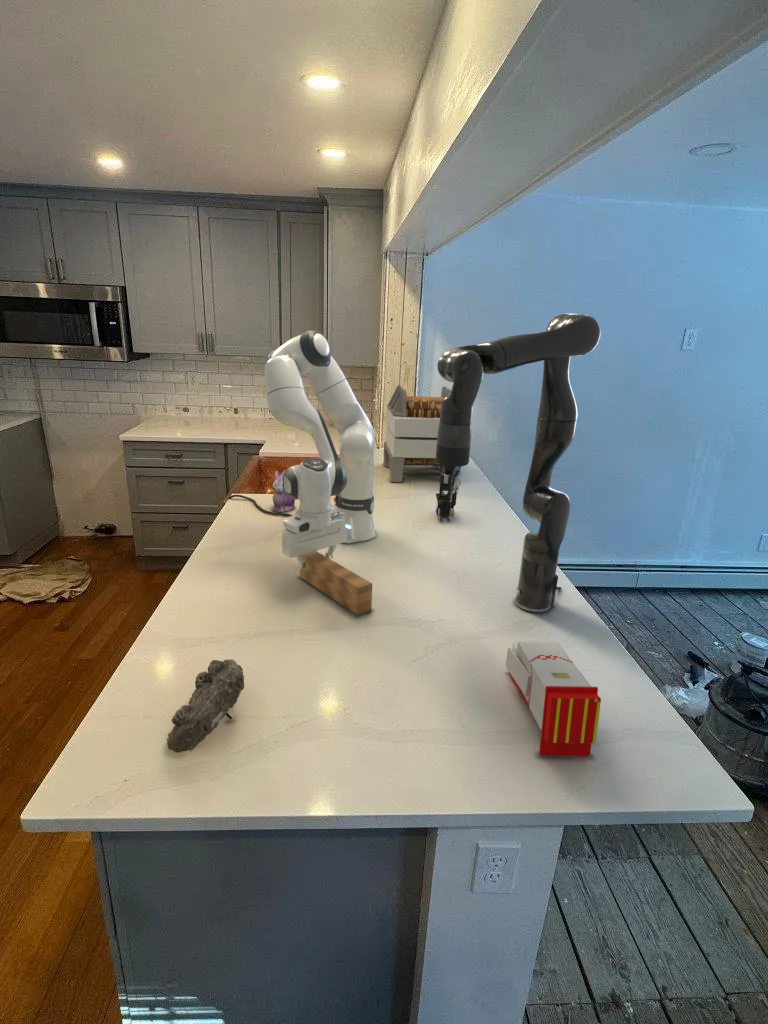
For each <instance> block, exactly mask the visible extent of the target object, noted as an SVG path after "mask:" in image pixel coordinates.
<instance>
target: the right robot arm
mask: <svg viewBox="0 0 768 1024" xmlns="http://www.w3.org/2000/svg"><path fill="white" fill-rule="evenodd" d="M546 327H547V328H546V330H544V331H539V332H530V333H522V334H515V335H509V336H504V337H500V338H496V339H493V340H490V341H487V342H483V343H478V344H477V343H476V344H468V345H460V346H457V347H456V346H455V347H452V348H449V349H447V350H446V351H444V352H443V353H442V354H441V355H440V356H439V359H438V360H437V365H436V367H437V372H438V374H439V376H440V377H441V378H442V379H443V380H445V381H447V382H450V383H452V384H453V385H452V388H451V394H448V395H445V396H444V397H443V399H442V401H441V411H440V422H439V428H438V434H437V447H436V462H437V463H438V464H440V465H444V466H445V469H444V470H443V472H440V477H439V478H440V480H439V489H438V491H439V492H438V493H439V497H438V499H439V501H441V505H440V516H441V517H445V519H447V518H448V517H449V516H450V508H451V506H454V507H455V506H456V504H457V496H458V490H459V487H460V484H461V475H462V468H463V467H465V466H468V465H469V464H470V457H471V454H470V453H471V445H472V435H473V433H472V431H473V430H472V423H473V413H474V404H475V401H476V399H477V396H478V393H479V390H480V388H481V384H482V381H483V377H484V375H496V374H499V373H503V372H506V371H510V370H514V369H516V368H520V367H523V366H526V365H530V364H534V363H538V362H543V373H542V383H541V390H540V391H541V392H540V401H539V408H538V414H537V419H536V426H535V427H536V428H535V437H534V443H533V451H532V456H531V463H530V467H529V472H528V476H527V481H526V484H525V489H524V493H523V498H522V510H523V514H525V516H527V517H528V518H530V519H532V520H534V521H535V522H538V523H540V525H539V528H538V530H534V531H530V532H527V533H526V534H525V535H524V539H523V547H522V553H521V562H520V569H519V574H518V582H517V586H516V587H515V591H516V597H515V601H514V603H515V604H516V606H517V607H518V608H519V609H521V610H523V611H527V612H529V613H546V612H548V611H550V609H552V608H554V605H555V599H556V593H557V591H560V590H562V586H558V580H559V575H558V574H557V568H558V561H559V554H560V550H561V549H560V548H561V544H562V543H563V541H564V538H565V535H566V531H567V526H568V522H569V519H570V513H571V500H570V497H569V496H568V494H566V493H565V492H562V491H559V490H557V489H554V488H552V487H551V481H552V475H553V471H554V468H555V466H556V465H557V462H558V461H559V460H560V458H561V457H563V455H564V454H565V453H566V451H567V450H568V449H569V447H570V446H571V444H572V443H573V440H574V438H575V433H576V427H577V420H578V406H577V402H576V399H575V395H574V392H573V389H572V386H571V382H570V363H571V357H581V356H585V355H587V354H589V353H591V352H592V351H594V350H595V348H596V347H597V346H598V344H599V342H600V338H601V327H600V323H599V322H598V320H597V319H596V318H594V317H593V316H591V315H588V314H584V313H583V314H582V313H559V314H556V315H555V316H553V317H552V318H551V320H550V321H549V322H548V325H547V326H546ZM445 493H446V494H447V496H443V495H444V494H445ZM449 518H450V517H449Z"/></svg>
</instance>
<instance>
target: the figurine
mask: <svg viewBox="0 0 768 1024" xmlns="http://www.w3.org/2000/svg"><path fill="white" fill-rule="evenodd" d="M286 470H287V469H284V470H283V471H282V472H281V474H280V472H279V471H278V470H275V471H274V481H273V484H272V490H273V491H274V492H273V495H272V503H273V511H274V512H277V513H284V512H289V511H291V510H293V509H294V508H295V504H296V500H295V499H293V498H291V497H290V496H288V495H287V494H286V493H285V492H284V489H283V474H284V473H285V471H286Z"/></svg>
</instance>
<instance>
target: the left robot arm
mask: <svg viewBox="0 0 768 1024" xmlns="http://www.w3.org/2000/svg"><path fill="white" fill-rule="evenodd" d="M305 376H306V377H307V380H308V381H309V384H310V386H311V388H312V390H313V393H314V395H315V397H316V398H317V400H318V402H319V404H320V406H321V408H322V410H323V411H324V414H325V416H326V417H327V418H328V419H329V421H330V422H331V423H332V425H333V426H334V427H335V429H336V430H337V432H338V433H339V435H340V437H339V456H338V453H337V450H336V447H335V445H334V443H333V440H332V437H331V435H330V432H329V429H328V426H327V424H326V422H325V420H324V417H323V416H322V415H323V414H322V413H321V411H319V410H318V409H317V408H315V407H314V406H313V405H312V404H311V403H310V401H309V399H308V397H307V395H306V389H305V386H304V382H303V378H302V377H305ZM264 389H265V395H266V401H267V405H268V408H269V409H268V410H269V412H270V414H271V416H272V417H273V418H274V419H275V420H276V421H278V422H279V423H280V424H282V425H285V426H287V427H291V428H295V429H297V430H300V431H303V432H305V433H307V434H308V435H309V436H310V437H311V438H312V439H313V442H314V445H315V448H316V450H317V452H318V455H319V458H316V457H315V458H313V457H312V458H311V457H310V458H306V459H304V460H302V461H301V462H300V464H295V465H291V466H288V467H287V469H285V470H286V471H285V470H284V471H285V473H284V474H283V489H284V492H285V493H286V494H287V495H288V496H290V497H291V498H293V499H295V501H296V500H298V501H299V506H298V510H297V511H296V512H294V513H293V514H291V513H285V512H276V511H274V512H273V511H269V510H266V509H264V508H262V507H261V506H260V505H258V503H257V501H256V500H255V499H254V498H251V497H248V496H245V495H241V494H232V495H230V496H228V497H227V499H228V500H230V499H233V498H241V499H245V500H248V501H251V502H252V503H254V506H255V507H256V508H258V509H259V511H261V512H263V513H266V514H268V515H274V516H286V517H287V518H285V519H284V520H283V521H282V524H283V525H282V526H283V527H284V528H285V529H283V531H282V534H281V552H282V554H283V555H284V556H286V557H287V558H289V559H295V561H296V562H297V568H299V570H300V569H302V568H305V567H306V566H305V565H306V562H304V561H303V560H301V558H302V555H303V554H307V553H310V552H313V551H317V552H318V551H320V550H323V549H327V548H328V549H327V552H325V553H324V556H326V557H327V558H329V559H331V560H333V559H334V553H335V551H336V549H337V545H340V544H352V543H357V542H365V541H368V540H372V539H373V538H375V537H376V535H377V532H376V528H375V523H374V513H373V512H374V509H375V496H374V458H375V457H374V453H375V452H374V451H375V450H374V449H375V444H376V443H375V442H376V430H375V429H374V426H373V425H372V423H371V421H370V419H369V418H368V415H367V414H366V413H365V411H364V409H363V408H362V406H361V405H360V403H359V401H358V400H357V397H356V395H355V394H354V392H353V389H352V388H351V385H350V383H349V382H348V380H347V378H346V376H345V373H344V372H343V370H342V369H341V367H340V366H339V364H338V363H337V361H336V360H335V358H334V357H333V356H332V349H331V345H330V342H329V340H328V338H327V337H326V336H325V334H323V333H322V332H320V331H318V330H317V329H312V330H307V331H304V332H302V333H301V334H299V335H296V336H294V337H292V338H290V339H288V340H287V341H286V342H284V343H283V344H282V345H281V344H280V346H279V347H277V348H275V349H273V350H272V351H271V352H270V353H269V354H268V355H267V357H266V359H265V365H264ZM331 497H333V502H334V504H333V505H332V503H331Z"/></svg>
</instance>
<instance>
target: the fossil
mask: <svg viewBox="0 0 768 1024" xmlns="http://www.w3.org/2000/svg"><path fill="white" fill-rule="evenodd" d="M243 670H244V669H243V667H242V665H240V664H237V662H236V661H235V660H234V659H232V658H231V659H227V658H226V659H224V660H223V661H222V660H217V659H212V660H211V661H210V663H209V665H208V666H207V671H201V672H199V673H198V674H197V675H196V676H195V680H194V684H195V685H194V687H195V689H194V690H193V693H192V694H191V697H190V698H189V700H188V704H184V705H182V706H181V707H180V709H177V710H176V711H175V713H174V715H173V716H172V718H171V723H172V724H173V727H172V730H171V731H170V732H168V734H167V738H166V741H167V742H166V745H167V749H168V750H169V751H173V752H174V753H176V754H178V753H182V752H188V751H189V752H192V751H193V750H195V748H196V747H197V746H199V744H200V743H201V742H203V741H204V740H205V739H206V738H207V737H208V736H209V735H210V734H211V733H212V732H214V730H215V729H217V727H218V726H219V724H220V722H221V721H222V720H223V719H224V718H225V716H226V717H227V719H229V720H233V717H232V715H230V714H229V710H230V709H231V708H234V706H235V704H236V703H237V702H238V699H239V697H240V695H241V693H242V691H243V690H245V689H244V688H245V675H244V671H243Z"/></svg>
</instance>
